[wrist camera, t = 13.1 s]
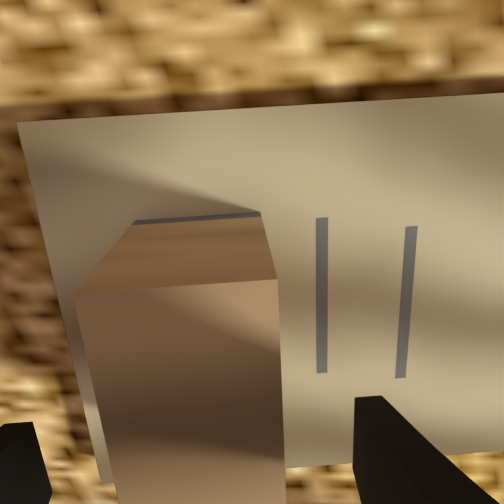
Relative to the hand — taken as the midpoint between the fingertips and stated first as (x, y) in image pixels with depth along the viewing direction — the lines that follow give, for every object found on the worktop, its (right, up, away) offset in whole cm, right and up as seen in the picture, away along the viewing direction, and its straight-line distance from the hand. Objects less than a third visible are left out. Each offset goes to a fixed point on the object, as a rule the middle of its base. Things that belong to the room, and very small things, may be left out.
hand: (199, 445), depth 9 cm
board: (+4, +3, +6) cm, 8 cm away
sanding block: (0, +2, +5) cm, 6 cm away
